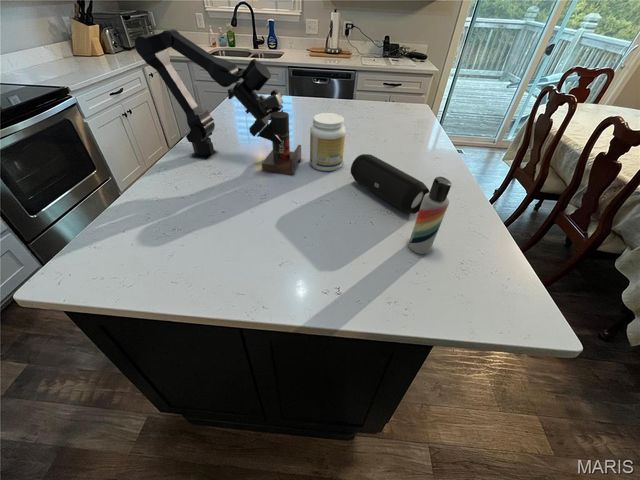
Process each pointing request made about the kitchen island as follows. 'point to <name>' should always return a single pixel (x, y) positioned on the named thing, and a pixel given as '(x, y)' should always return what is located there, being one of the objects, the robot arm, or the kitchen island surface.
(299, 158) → the brown l-shaped stand
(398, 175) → the portable speaker
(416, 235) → the lotion bottle
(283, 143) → the deodorant
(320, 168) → the supplement tub
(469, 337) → the kitchen island surface
